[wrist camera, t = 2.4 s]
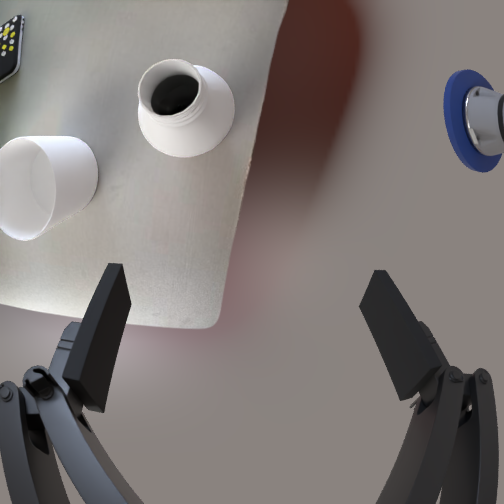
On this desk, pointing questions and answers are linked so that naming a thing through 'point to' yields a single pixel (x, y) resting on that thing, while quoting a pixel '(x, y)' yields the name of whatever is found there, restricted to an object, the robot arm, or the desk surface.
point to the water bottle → (184, 108)
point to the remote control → (10, 46)
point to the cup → (44, 183)
